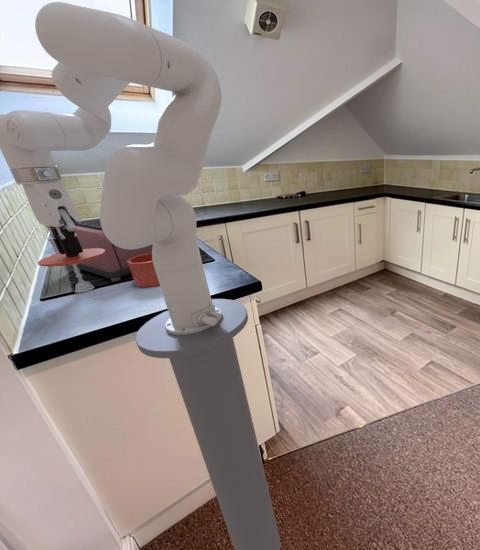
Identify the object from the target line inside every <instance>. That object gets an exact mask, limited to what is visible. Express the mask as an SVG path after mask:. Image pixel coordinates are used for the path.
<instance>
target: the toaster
mask: <svg viewBox="0 0 480 550" xmlns="http://www.w3.org/2000/svg"><path fill="white" fill-rule="evenodd" d="M74 225H75V226H76V230H75V232H76V234H77V238H78V240H79V243H80V245H81V247H82V249H92V248H101V249H105V251H106V252H105V253H104V254H103V255H101V256H98V257H96V258H93V259H91V260H88V261H84V262H81V263H78V264H77V267H78V269H80V271H85V272H87V273H91V274H94V275H97V276H100V277H104V278H107V279H110V281H111V282H112V283H113V282H120V281H121V280H122V277H124V276H127V275H132V274H131V271H130V268H129V265H128V263H127V260H129V259H130V258H133V257H135V256H138V255H142V254H147V253H152V247H153V244H152V245H149V246H146V247H143V248H139V249H131V250H130V249H123V248H120V247H117V246H115V245H114V244H112V243H111V242H110V241H109V240H108V239H107V237H106V236H105V234H104V232H103V230H102V227H101V223H100V218H93V219H88V220H87V219H86V220H81V222H80V223H79V224H74Z"/></svg>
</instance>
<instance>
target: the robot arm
mask: <svg viewBox="0 0 480 550" xmlns="http://www.w3.org/2000/svg"><path fill="white" fill-rule="evenodd" d="M34 22H35V23H34V27H35V34H36V37H37V39H38V41H39V43H40V46H41V47H42V48H43V50H44V51H45V52H46V53H47V54H48V55H49V56H50V57H51V58H52V59H54V60H55V61H57V62H58V63H56V65H55V66H54V67H53V68H52V71H51V79H52V82H53V84H54V86H55V88H56V89H57V90H58V91H59V92H60V94H61V95H63V97H64V98H65V99H66V100H68V101H69V102H71V103H72V104H74V105H75V106H76V107H78V108H77V109H76V110H75V111H74V112H73V113H71V114H69V113H62V112H51V111H38V110H26V109H18V110H17V109H16V110H12V111H10V112H7V113H1V114H0V151H1V153H2V156H3V158H4V160H5V162H6V164H7V166H8V168H9V171H10V173H11V175H12V177H13V179H14V181H15V183H16V185H21V186H22V188H23V191H24V194H25V196H26V198H27V201H28V203H29V206H30V208H31V211H32V212H33V215H34V217H35V218H36V220H37V222H38V223H39V224H40V225H42V226H45V228H47V229H48V231H49V234H50V237H51V236H52V238H55V239H53V240H54V242H55V244H56V246H57V248H58V251H59V253H60V254H65V253H66V255H68V256H70V255H74V254H78V253H82V252H83V250H82V247H81V245H80V243H79V240H78V238H77V234H76V232H75V230H76V226H75V225H74V224H79V223H80V222H81V221H82V219H81V216H80V214H79V212H78V210H77V208H76V205H75V203H74V202H73V199H72V198H71V195H70V193H69V192H68V190H67V188H66V187H65V185H64V184H63V182H64V180H63V177H62V175H61V171H60V169H59V168H58V165H57V163H56V160H55V158H54V156H53V153H52V152H59V151H60V152H61V151H62V152H63V151H64V152H65V151H66V152H67V151H68V152H70V151H71V152H72V151H73V152H75V151H77V152H79V151H89V150H91V149H93V148H95V147H96V146H98V145H99V144H100V143H102V141H104V139H105V138H106V137H107V136H108V135H109V133H110V131H111V129H112V114H111V113H112V112H111V110H110V108H109V106H110V105H111V104H112V103H113V102H114V101H115V100H116V99H117V98H118V96H119V95H121V93H122V92H123V91H124V90H125V89H126V88H127V87H129V85H130V84H136V85H140V86H145V87H149V88H153V89H159V90H162V91H169V92H172V94H173V97H172V98H171V100H170V101H169V102H168V103H167V105H166V106H165V107H164V108H163V110H162V112H161V113H160V116H159V118H158V122H157V128H156V133H155V136H154V139H153V141H152V143H150V144H130V145H123V146H121V147H119V148H117V149H115V150H114V151H113V152H112V153H111V154H110V156H109V157H108V159H107V161H106V164H105V169H104V175H103V183H102V193H101V199H100V207H99V209H100V210H99V219H100V223H101V227H102V230H103V232H104V234H105V236H106V237H107V239H108V240H109V241H110V242H111V243H112V244H114V245H115V246H117V247H120V248H123V249H130V250H131V249H139V248H143V247H146V246H149V245H152V244H153V247H152V261H153V265H154V268H155V271H156V274H157V278H158V281H159V284H160V285H159V286H160V289H161V292H162V296H163V299H164V303H165V305H166V309H167V311H168V312H169V315H170V319H168V321H167V322H166V324H165V328H166V331H167V332H168V333H170V334H174V335H187V334H193V333H197V332H200V331H203V330H206V329H208V328H210V327H212V326H214V325H216V324H217V322H219V320H220V319H221V318H222V312H221V310H220V309H219V308H217V307H215V306H214V305H213V304H212V300H211V299H212V297H211V293H210V288H209V284H208V281H207V276H206V271H205V269H204V268H205V267H204V265H203V260H202V256H201V252H200V251H201V250H200V247H199V241H198V233H197V231H198V230H197V217H196V212H195V209H194V207H193V205H192V204H191V202H190V201H189V200H188V199H186V198H185V197H183V195H186V194H187V195H188V194H190V193H191V192H193V191H194V190H195V189H196V188H197V187H198V184H199V181H200V178H201V174H202V171H203V168H204V164H205V160H206V156H207V153H208V148H209V144H210V140H211V136H212V134H213V131H214V128H215V125H216V123H217V120H218V117H219V113H220V109H221V105H222V89H221V84H220V79H219V78H218V75H217V73H216V71H215V69H214V67H213V65H212V64H211V63H210V61H209V60H208V58H207V57H205V55H204V54H203V53H201V52H200V50H197V48H195V47H193V46H192V45H190V44H189V43H187V42H185V41H184V40H181V39H179V38H177V37H175V36H173V35H171V34H168V33H165V32H164V31H161V30H158V29H156V28H153V27H151V26H149V25H147V24H146V23H145V24H144V23H142V22H141V21H138V20H135V19H132V18H130V17H128V16H125V15H121V14H118V13H114V12H110V11H105V10H100V9H96V8H91V7H86V6H81V5H76V4H72V3H69V2H68V3H67V2H62V1H52V2H49V3H47V4H45V5H43V6H41V8H40V9H39V11H38V12H37V14H36V16H35V21H34ZM57 235H59V236H60V238H61V239H62V240H60V241H59V239H58V237H57ZM60 242H61V243H60ZM61 244H62V246H61ZM62 247H63V248H62ZM63 249H64V250H63ZM64 251H65V252H64Z"/></svg>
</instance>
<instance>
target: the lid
mask: <svg viewBox="0 0 480 550" xmlns="http://www.w3.org/2000/svg"><path fill="white" fill-rule="evenodd" d="M57 237H58V239H59V241H60V240H62V239H61V238H60V236H59V235H57ZM60 243H61V242H60ZM61 246H62V244H61ZM62 248H63V247H62ZM63 250H64V249H63ZM82 250H83V252H82V253H78V254H74V255H70V256H68V255H66V253H65V254H56V253H55V254H53V255H49V256H47V257H44V258H41V259H40V260H38V261H37V264H38V266H40V267H63V266H72V265H71V264H76V263H81V262H84V261H88V260H91V259H93V258H96V257H98V256H101V255H103V254H104V253H105V252H106V251H105V249H101V248H92V249H82ZM64 252H65V251H64Z"/></svg>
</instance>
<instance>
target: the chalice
mask: <svg viewBox="0 0 480 550" xmlns="http://www.w3.org/2000/svg"><path fill="white" fill-rule="evenodd" d="M53 239H55V238H52V236H51V235H50V236H48V237H46V240H47V241H49V242H50V244H51V247H52V249H53V251H54V253H55V255H56V254H60V253H59V251H58V248H57V246H56V244H55V242H54V240H53ZM77 264H78V263H76V264H71V265H70V266H71V267H73V272H74V273H75V278H77V279H78V282H77V283H76V284H75V287H74V293H77V294H80V293H86V292H89V291H92V290H93V289H95V288H96V287H95V286H94V285H93V284H92V283H91V282H90V281H88V280H86V281H85V280H84V279H83V274H81V270H80V269H78V267H77Z"/></svg>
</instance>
